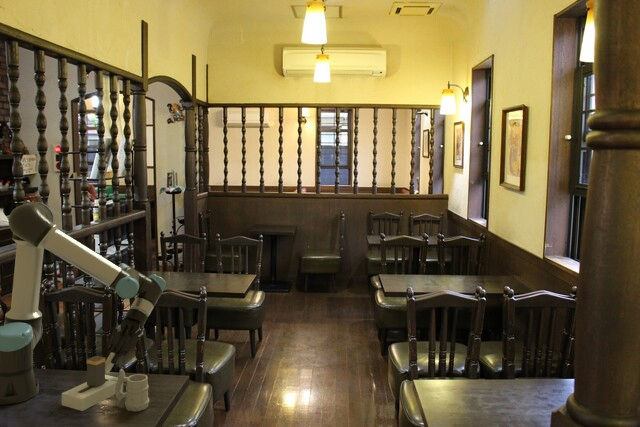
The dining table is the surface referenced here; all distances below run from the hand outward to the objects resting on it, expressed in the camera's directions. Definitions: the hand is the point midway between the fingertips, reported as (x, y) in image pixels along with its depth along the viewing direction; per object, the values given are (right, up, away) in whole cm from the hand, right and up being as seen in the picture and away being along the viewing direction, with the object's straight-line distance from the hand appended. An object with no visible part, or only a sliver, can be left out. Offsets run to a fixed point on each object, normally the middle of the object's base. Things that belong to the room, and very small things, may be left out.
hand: (104, 371), depth 181 cm
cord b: (+4, -7, +8) cm, 11 cm away
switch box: (-2, -8, -4) cm, 9 cm away
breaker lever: (-2, -3, -3) cm, 5 cm away
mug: (+12, -9, -8) cm, 18 cm away
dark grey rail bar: (+2, -7, +6) cm, 10 cm away
